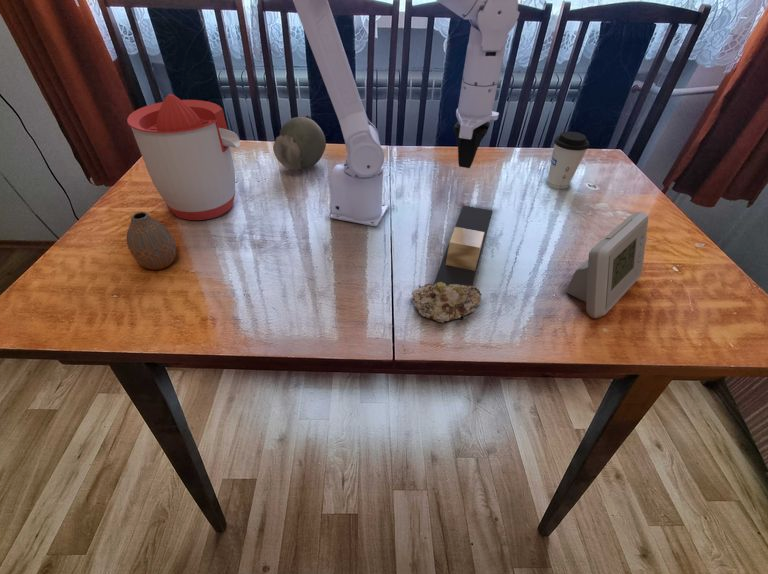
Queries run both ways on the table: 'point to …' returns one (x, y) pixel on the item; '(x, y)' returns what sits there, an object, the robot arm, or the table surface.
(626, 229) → the digital clock
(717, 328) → the table surface
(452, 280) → the line stripe
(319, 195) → the table surface
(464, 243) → the maple block
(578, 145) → the coffee cup
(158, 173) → the citrus juicer
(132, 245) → the vase
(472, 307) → the mineral rock
